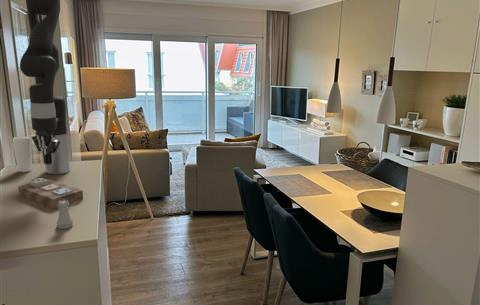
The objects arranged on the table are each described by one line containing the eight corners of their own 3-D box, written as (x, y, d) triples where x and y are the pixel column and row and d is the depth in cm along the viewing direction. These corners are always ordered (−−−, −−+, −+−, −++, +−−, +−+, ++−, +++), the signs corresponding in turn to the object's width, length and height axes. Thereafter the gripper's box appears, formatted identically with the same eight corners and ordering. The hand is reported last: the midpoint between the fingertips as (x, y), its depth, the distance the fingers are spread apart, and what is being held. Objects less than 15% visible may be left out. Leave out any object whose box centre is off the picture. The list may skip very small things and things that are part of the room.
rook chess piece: (60, 223, 105) (58, 198, 104) (75, 223, 106) (73, 198, 104) (53, 229, 101) (51, 204, 99) (69, 229, 102) (67, 204, 100)
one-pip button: (41, 193, 124) (40, 187, 123) (52, 190, 127) (52, 183, 127) (48, 196, 122) (47, 189, 121) (60, 192, 125) (59, 186, 125)
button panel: (19, 195, 125) (18, 186, 125) (48, 187, 135) (47, 179, 134) (53, 209, 115) (52, 199, 114) (83, 199, 124) (82, 190, 124)
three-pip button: (29, 186, 127) (29, 180, 126) (41, 183, 131) (40, 177, 130) (36, 189, 125) (35, 182, 124) (48, 186, 128) (47, 179, 128)
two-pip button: (52, 197, 120) (52, 191, 120) (64, 194, 124) (63, 187, 123) (60, 200, 118) (59, 193, 118) (72, 197, 122) (71, 190, 121)
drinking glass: (25, 173, 150) (22, 139, 147) (12, 172, 151) (8, 138, 148) (37, 169, 157) (34, 136, 153) (24, 168, 158) (21, 135, 154)
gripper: (65, 116, 119) (69, 165, 123) (42, 112, 125) (46, 158, 130) (44, 119, 113) (49, 170, 117) (21, 114, 119) (26, 162, 123)
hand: (48, 163), depth 123 cm, fingers closed
